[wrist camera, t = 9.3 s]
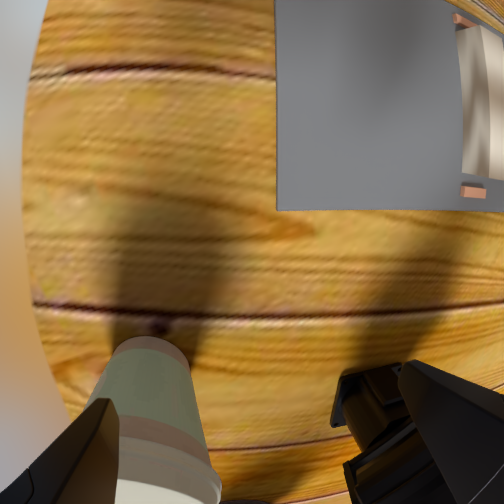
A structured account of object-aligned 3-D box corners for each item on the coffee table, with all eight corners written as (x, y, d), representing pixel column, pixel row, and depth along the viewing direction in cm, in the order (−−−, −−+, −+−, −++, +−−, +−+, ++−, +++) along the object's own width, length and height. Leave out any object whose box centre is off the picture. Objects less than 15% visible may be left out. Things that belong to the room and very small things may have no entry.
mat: (527, 212, 23) (533, 214, 23) (275, 209, 19) (279, 212, 18) (524, 51, 18) (530, 51, 17) (272, -47, 13) (275, -54, 13)
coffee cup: (97, 305, 19) (31, 445, 8) (220, 332, 21) (248, 486, 10) (94, 394, 21) (62, 520, 10) (196, 415, 23) (207, 545, 12)
